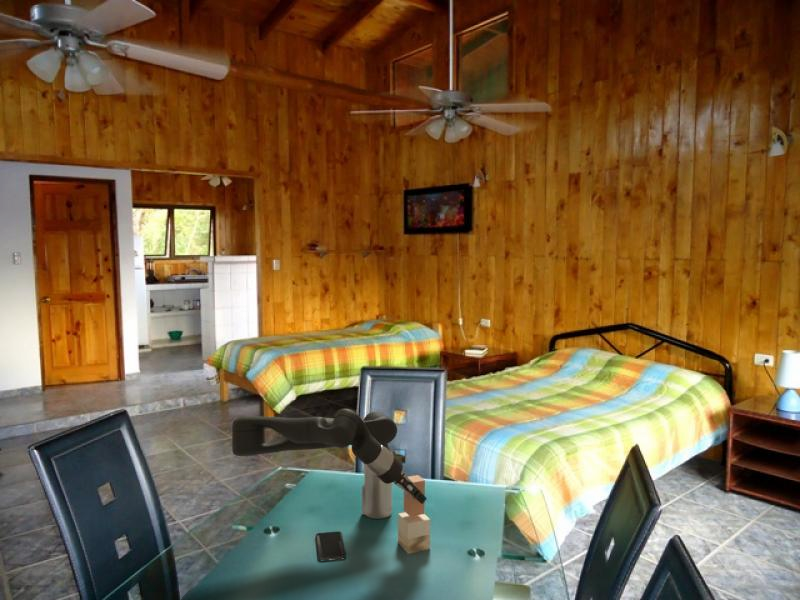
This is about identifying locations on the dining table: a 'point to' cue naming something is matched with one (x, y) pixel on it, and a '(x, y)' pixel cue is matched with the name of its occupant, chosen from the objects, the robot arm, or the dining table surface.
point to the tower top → (413, 525)
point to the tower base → (414, 543)
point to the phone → (330, 545)
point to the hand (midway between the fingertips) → (420, 497)
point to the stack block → (412, 504)
